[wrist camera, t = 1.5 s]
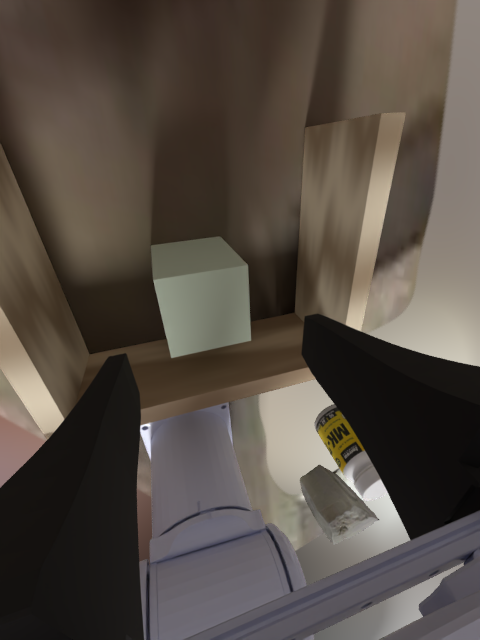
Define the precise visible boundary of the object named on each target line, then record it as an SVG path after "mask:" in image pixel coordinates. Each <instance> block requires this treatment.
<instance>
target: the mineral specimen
mask: <svg viewBox="0 0 480 640" xmlns="http://www.w3.org/2000/svg"><path fill="white" fill-rule="evenodd" d="M300 483H301V489H302V492H303V495H304V497H305V500H306V502H307V504H308V506H309V508H310V510H311V511H312V513H313V516H314V517H315V519H316V521H317V522H318V524H319V525H320V527H321V528H322V530H323V532H324V533H325V534H326V536H327V537H328V539H329V540H330V541H331V542H332V543H333V544H336V543H339V542H340V541H342V540H343V539H344V538H347V539H350V538H352V537H353V536H355V535H356V534H358V533H359V532H361V531H363V530H364V529H366V528H367V527H369V526H370V525H372V524H373V523H374V522H375V521H377V520H379V519H378V518H377V517H376V515H375V514H374V513H373V512H372V511H371V510H370V509H369V508H368V507H367V506H366V505H365V503H364V502H363V501H362V500H361V499H360V498H359V497H358V496H357V495H356V493H355V492H354V491H353V490H352V489H351V488H350V487H349V486H347V484H346V483H345V482H344V481H343V480H342V479H341V478H340V477H339V476H338V475H337V474H335V473H333V472H331V471H330V470H328V469H326V468H324V467H323V466H321V465H318V466H317V467H315V468H314V469H313V470H311V471H310V472H309V473H307V474H306V475H304V476H302V477H301V478H300Z"/></svg>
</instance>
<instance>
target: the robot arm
mask: <svg viewBox="0 0 480 640" xmlns="http://www.w3.org/2000/svg"><path fill="white" fill-rule="evenodd" d="M301 355H302V356H303V358H304V360H305V362H306V364H307V366H308V368H309V369H310V371H311V373H312V374H313V376H314V377H315V378H316V380H317V381H318V383H319V384H320V385H321V387H322V388H323V389H324V390H325V392H326V393H327V394H328V396H329V397H330V398H331V400H332V401H333V402H334V404H335V405H336V406H337V408H338V409H339V410H340V412H341V413H342V414H343V416H344V417H345V419H346V420H347V422H348V423H349V425H350V426H351V428H352V430H353V431H354V433H355V435H356V436H357V438H358V440H359V441H360V443H361V445H362V446H363V448H364V450H365V452H366V453H367V455H368V457H369V459H370V460H371V462H372V464H373V466H374V467H375V469H376V471H377V473H378V475H379V477H380V479H381V481H382V483H383V484H384V486H385V488H386V490H387V492H388V493H389V496H390V498H391V500H392V502H393V504H394V506H395V508H396V510H397V512H398V514H399V516H400V518H401V520H402V522H403V524H404V527H405V529H406V531H407V533H408V535H409V538H410V541H408V542H406V543H404V544H401V545H399V546H397V547H394V548H392V549H390V550H388V551H385V552H383V553H381V554H379V555H376V556H374V557H371V558H369V559H367V560H365V561H362V562H360V563H358V564H355V565H353V566H351V567H349V568H346V569H344V570H342V571H340V572H337V573H335V574H333V575H330V576H328V577H326V578H323V579H321V580H319V581H316V582H314V583H312V584H310V585H307V584H306V581H305V577H304V574H303V571H302V568H301V565H300V562H299V560H298V557H297V555H296V553H295V551H294V548H293V546H292V545H291V543H290V541H289V539H288V538H287V537H286V535H285V534H284V533H283V532H282V531H280V530H279V529H278V527H276V526H275V525H274V524H272V523H269V524H264V521H263V518H262V515H261V511H260V510H254V511H252V507H251V504H250V501H249V498H248V494H247V491H246V488H245V485H244V481H243V478H242V475H241V471H240V468H239V465H238V462H237V458H236V455H235V452H234V449H233V440H232V431H231V422H230V412H229V403H228V402H227V403H223V404H220V405H216V406H212V407H208V408H204V409H201V410H197V411H193V412H189V413H185V414H182V415H178V416H174V417H170V418H167V419H163V420H159V421H155V422H151V423H148V424H144V425H141V405H140V392H139V389H138V386H137V383H136V380H135V378H134V375H133V372H132V369H131V366H130V363H129V360H128V357H127V354H126V353H124V354H119V355H114V356H109V357H108V358H107V359H106V361H105V362H104V364H103V365H102V367H101V368H100V370H99V372H98V373H97V375H96V376H95V378H94V379H93V381H92V382H91V384H90V385H89V387H88V388H87V390H86V391H85V392H84V394H83V395H82V397H81V398H80V400H79V401H78V402H77V404H76V405H75V406H74V408H73V409H72V410H71V412H70V413H69V414H68V415H67V417H66V418H65V419H64V421H63V422H62V423H61V424H60V426H59V427H58V428H57V429H56V430H55V432H54V433H53V434H52V435H51V436H50V438H49V439H48V440H47V441H46V442H45V443H44V444H43V445H42V447H40V448H39V450H38V451H37V452H36V453H35V454H34V455H33V456H32V457H31V458H30V459H29V460H28V461H27V462H26V463H25V464H24V465H23V466H22V467H21V468H20V469H19V470H18V471H17V472H16V473H15V474H14V475H13V476H12V477H11V478H10V479H9V480H8V481H7V482H6V483H5V484H4V485H3V486H2V487H1V488H0V640H314V636H313V634H315V633H317V632H319V631H321V630H324V629H325V628H328V627H330V626H332V625H334V624H336V623H338V622H340V621H342V620H344V619H346V618H348V617H351V616H353V615H355V614H357V613H359V612H361V611H363V610H365V609H367V608H369V607H371V606H373V605H375V604H378V603H380V602H382V601H384V600H386V599H388V598H390V597H392V596H394V595H396V594H399V593H401V592H402V591H405V590H407V589H409V588H411V587H413V586H415V585H417V584H419V583H421V582H424V581H426V580H428V579H430V578H432V577H434V576H436V575H438V574H440V573H442V572H444V571H446V570H448V569H451V568H453V567H455V566H457V565H459V564H461V563H463V562H464V566H463V567H461V568H459V569H458V570H456V571H455V572H453V573H451V574H450V575H448V576H447V577H445V578H443V580H442V582H441V583H440V585H439V587H438V588H437V589H436V590H435V591H434V592H433V593H432V594H431V595H430V596H429V597H427V598H426V599H425V600H424V601H422V602H421V603H420V604H419V610H420V612H421V614H422V615H423V617H422V618H420V619H419V620H416V621H414V622H412V623H410V624H409V625H406V626H405V627H403V628H401V629H399V630H397V631H395V632H393V633H391V634H389V635H387V636H385V637H383V638H381V639H379V640H480V367H479V366H473V365H468V364H463V363H458V362H454V361H450V360H445V359H441V358H437V357H433V356H429V355H425V354H422V353H419V352H416V351H412V350H409V349H406V348H402V347H400V346H397V345H394V344H391V343H388V342H386V341H383V340H381V339H378V338H375V337H373V336H370V335H368V334H366V333H363V332H361V331H358V330H356V329H354V328H352V327H349V326H347V325H345V324H342V323H340V322H338V321H336V320H333V319H331V318H329V317H326V316H324V315H321V314H313V315H308V316H305V318H304V329H303V341H302V352H301ZM223 405H224V406H223ZM144 426H146V427H144ZM140 433H141V436H142V439H143V441H144V444H145V447H146V449H147V452H148V455H149V458H150V460H151V491H152V535H153V536H152V539H151V540H150V565H149V562H148V560H144V561H141V562H139V549H138V524H137V468H138V454H139V441H140Z"/></svg>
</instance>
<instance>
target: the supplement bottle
mask: <svg viewBox="0 0 480 640" xmlns="http://www.w3.org/2000/svg"><path fill="white" fill-rule="evenodd" d="M315 429H316V431H317V432H318V434H319V436H320V437H321V439H322V440H323V442H324V444H325V445H326V447H327V449H328V450H329V452H330V454H331V455H332V457H333V458H334V460H335V462H336V463H337V465H338V467H339V468H340V470H341V471H342V473H343V475H344V476H345V477H346V478H347V479H348V480H349V481H352V482H354V485H355V487H356V489H357V490H358V492H359V493H360V495H361V496H362V498H363V499H364V500H366V501H371V500H375V499H378V498H380V497H382V496H384V495H386V494H387V493H388V492H387V490H386V488H385V486H384V484H383V483H382V481H381V479H380V477H379V475H378V473H377V471H376V469H375V467H374V466H373V464H372V462H371V460H370V459H369V457H368V455H367V453H366V452H365V450H364V448H363V446H362V445H361V443H360V441H359V440H358V438H357V436H356V435H355V433H354V431H353V430H352V428H351V426H350V425H349V423H348V422H347V420H346V419H345V417H344V416H343V414H342V413H341V412H340V410H339V409H338V408H337V406H336V405H335V404H334V405H331V406H329V407H327V408H326V409H324V410H323V411H322V412H321V413H320V414H319V415H318V417H317V418H316V421H315Z"/></svg>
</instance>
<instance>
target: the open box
mask: <svg viewBox="0 0 480 640" xmlns="http://www.w3.org/2000/svg"><path fill="white" fill-rule="evenodd" d="M405 115H406V112H405V113H381V114H375V115H370V116H365V117H359V118H354V119H348V120H343V121H338V122H332V123H327V124H322V125H316V126H311V127H305V138H304V155H303V173H302V191H301V209H300V227H299V245H298V263H297V281H296V299H295V313H291V314H286V315H281V316H276V317H271V318H266V319H261V320H256V321H251V322H250V326H251V341H247V342H242V343H238V344H233V345H229V346H224V347H220V348H215V349H210V350H206V351H201V352H197V353H192V354H188V355H183V356H179V357H174V358H171V355H170V351H169V346H168V342H167V339H163V340H158V341H153V342H148V343H143V344H138V345H133V346H128V347H123V348H118V349H113V350H109V351H104V352H99V353H94V354H89V352H88V349H87V347H86V345H85V342H84V340H83V337H82V335H81V333H80V330H79V328H78V326H77V323H76V321H75V318H74V316H73V314H72V311H71V309H70V307H69V304H68V302H67V300H66V297H65V295H64V292H63V290H62V288H61V285H60V283H59V281H58V278H57V276H56V273H55V271H54V269H53V266H52V264H51V262H50V259H49V257H48V255H47V252H46V250H45V247H44V245H43V243H42V240H41V238H40V236H39V233H38V231H37V228H36V226H35V224H34V221H33V219H32V217H31V214H30V212H29V209H28V207H27V205H26V202H25V200H24V198H23V195H22V193H21V191H20V188H19V186H18V183H17V181H16V179H15V176H14V174H13V172H12V169H11V167H10V164H9V162H8V160H7V157H6V155H5V153H4V150H3V148H2V146H1V143H0V368H1V370H2V371H3V373H4V374H5V376H6V377H7V379H8V380H9V382H10V383H11V385H12V387H13V388H14V390H15V391H16V393H17V394H18V396H19V397H20V399H21V400H22V402H23V403H24V405H25V406H26V408H27V409H28V411H29V413H30V414H31V416H32V417H33V419H34V420H35V422H36V423H37V425H38V426H39V428H40V429H41V431H42V432H43V434H44V435H45V437H46V439H47V440H48V439H49V438H50V436H51V435H52V434H53V433H54V432H55V430H56V429H57V428H58V427H59V426H60V424H61V423H62V422H63V421H64V419H65V418H66V417H67V415H68V414H69V413H70V412H71V410H72V409H73V408H74V406H75V405H76V404H77V402H78V401H79V400H80V398H81V397H82V395H83V394H84V392H85V391H86V390H87V388H88V387H89V385H90V384H91V382H92V381H93V379H94V378H95V376H96V375H97V373H98V372H99V370H100V368H101V367H102V365H103V364H104V362H105V361H106V359H107V358H108V357H109V356H114V355H119V354H124V353H126V354H127V357H128V360H129V363H130V366H131V369H132V372H133V375H134V378H135V380H136V383H137V386H138V389H139V392H140V405H141V425H144V424H148V423H151V422H155V421H159V420H163V419H167V418H170V417H174V416H178V415H182V414H185V413H189V412H193V411H197V410H201V409H204V408H208V407H212V406H216V405H220V404H223V403H227V402H231V401H235V400H238V399H242V398H246V397H250V396H254V395H257V394H261V393H265V392H268V391H272V390H276V389H280V388H284V387H287V386H291V385H295V384H299V383H303V382H307V381H310V380H314V379H316V378H315V377H314V376H313V374H312V373H311V371H310V369H309V368H308V366H307V364H306V362H305V360H304V358H303V356H302V355H301V352H302V341H303V329H304V318H305V316H308V315H313V314H321V315H324V316H326V317H329V318H331V319H333V320H336V321H338V322H340V323H342V324H345V325H347V326H349V327H352V328H354V329H356V330H358V331H361V328H362V323H363V319H364V314H365V309H366V304H367V299H368V294H369V289H370V285H371V280H372V275H373V270H374V265H375V260H376V255H377V251H378V246H379V241H380V236H381V231H382V226H383V221H384V217H385V212H386V207H387V202H388V197H389V192H390V187H391V183H392V178H393V173H394V168H395V163H396V158H397V153H398V149H399V144H400V139H401V134H402V129H403V124H404V119H405Z"/></svg>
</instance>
